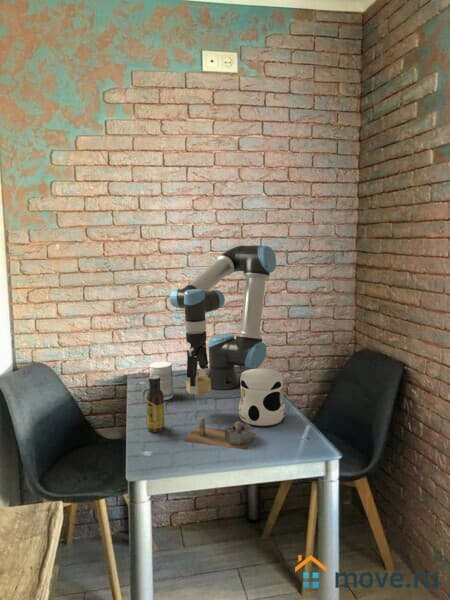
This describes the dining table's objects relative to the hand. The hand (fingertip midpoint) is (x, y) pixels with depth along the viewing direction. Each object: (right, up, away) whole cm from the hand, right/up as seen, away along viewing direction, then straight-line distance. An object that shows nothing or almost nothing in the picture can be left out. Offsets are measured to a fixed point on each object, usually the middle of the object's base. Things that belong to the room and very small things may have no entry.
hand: (198, 389), depth 173 cm
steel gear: (+15, -13, -20) cm, 28 cm away
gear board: (+8, -14, -18) cm, 24 cm away
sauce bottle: (-15, -13, -8) cm, 22 cm away
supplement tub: (-17, -8, +23) cm, 30 cm away
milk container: (+24, -11, -3) cm, 27 cm away
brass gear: (0, 0, 0) cm, 0 cm away
